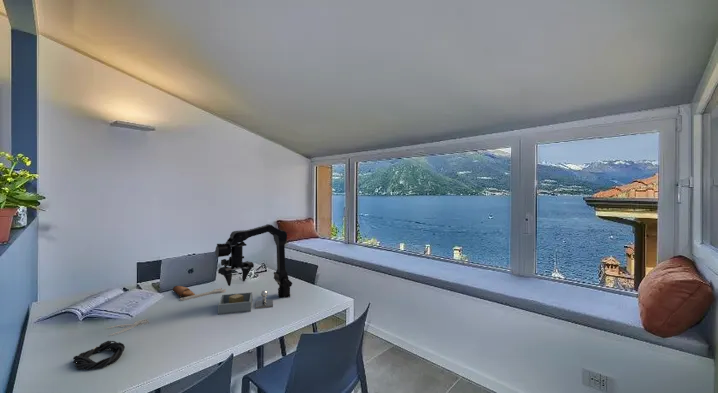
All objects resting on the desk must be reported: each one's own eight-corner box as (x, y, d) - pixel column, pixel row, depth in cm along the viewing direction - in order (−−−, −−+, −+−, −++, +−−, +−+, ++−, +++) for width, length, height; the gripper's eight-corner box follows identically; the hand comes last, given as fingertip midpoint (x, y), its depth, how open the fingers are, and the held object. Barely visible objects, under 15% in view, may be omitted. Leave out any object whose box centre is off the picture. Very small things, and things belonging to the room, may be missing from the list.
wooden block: (236, 303, 164) (237, 293, 164) (243, 305, 162) (243, 295, 162) (228, 307, 160) (228, 296, 160) (235, 308, 157) (235, 298, 157)
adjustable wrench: (180, 302, 169) (180, 299, 169) (177, 299, 174) (177, 296, 174) (226, 292, 186) (226, 289, 186) (222, 289, 190) (222, 287, 190)
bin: (252, 301, 171) (252, 292, 171) (250, 311, 156) (250, 301, 156) (222, 303, 166) (222, 294, 166) (218, 314, 151) (218, 304, 151)
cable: (128, 362, 109) (128, 350, 109) (75, 379, 99) (75, 366, 99) (119, 345, 121) (119, 334, 121) (71, 359, 111) (71, 347, 111)
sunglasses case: (197, 295, 179) (191, 287, 176) (185, 303, 174) (179, 295, 172) (187, 288, 191) (181, 280, 189) (176, 296, 187) (170, 288, 184)
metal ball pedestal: (272, 301, 171) (272, 287, 171) (272, 307, 162) (273, 292, 162) (256, 302, 168) (256, 288, 168) (255, 308, 160) (255, 293, 159)
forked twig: (105, 326, 134) (145, 316, 145) (105, 329, 134) (145, 319, 145) (108, 333, 128) (150, 322, 138) (108, 337, 128) (150, 326, 138)
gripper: (240, 250, 173) (240, 277, 173) (211, 256, 156) (211, 285, 157) (254, 252, 167) (254, 280, 168) (225, 258, 151) (225, 289, 151)
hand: (236, 283), depth 161 cm, fingers open, 9 cm apart
